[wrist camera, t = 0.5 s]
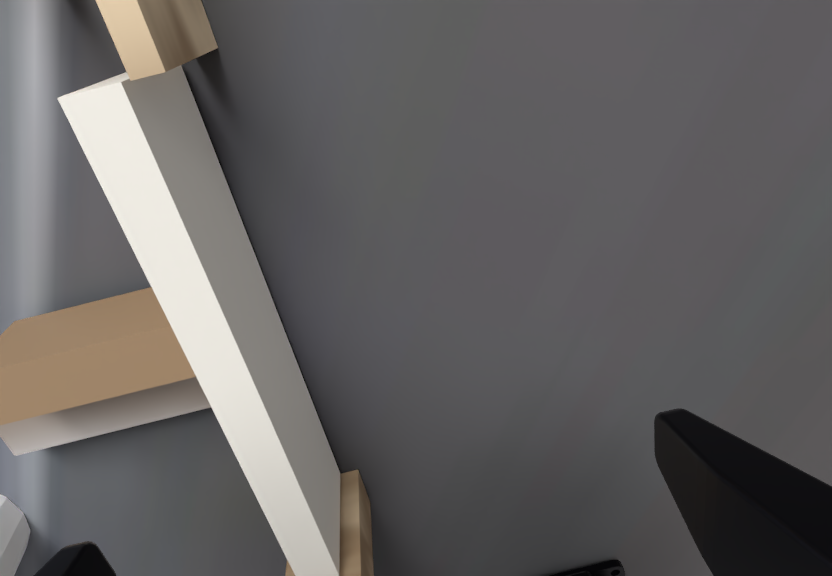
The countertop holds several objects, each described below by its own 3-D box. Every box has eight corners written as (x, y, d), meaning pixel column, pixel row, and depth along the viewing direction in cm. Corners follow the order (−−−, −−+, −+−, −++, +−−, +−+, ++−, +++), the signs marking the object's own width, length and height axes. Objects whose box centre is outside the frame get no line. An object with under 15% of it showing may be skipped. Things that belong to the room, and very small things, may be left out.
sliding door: (340, 473, 26) (339, 575, 22) (147, 521, 26) (105, 633, 22) (178, 58, 18) (120, 81, 13) (-105, 129, 18) (-260, 177, 13)
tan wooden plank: (379, 499, 28) (387, 620, 22) (126, 562, 28) (74, 697, 22) (-30, -648, 12) (-334, -1165, 7) (-618, -497, 12) (-1389, -886, 7)
